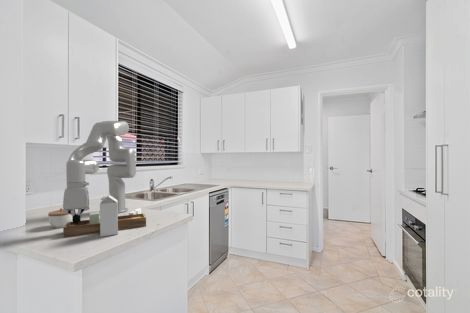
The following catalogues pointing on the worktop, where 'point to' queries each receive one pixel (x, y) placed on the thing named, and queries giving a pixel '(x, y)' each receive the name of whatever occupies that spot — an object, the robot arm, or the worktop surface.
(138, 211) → the napkin holder
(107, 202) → the milk carton
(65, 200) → the robot arm
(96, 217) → the block
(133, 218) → the box
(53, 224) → the lidded jar
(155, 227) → the worktop surface
